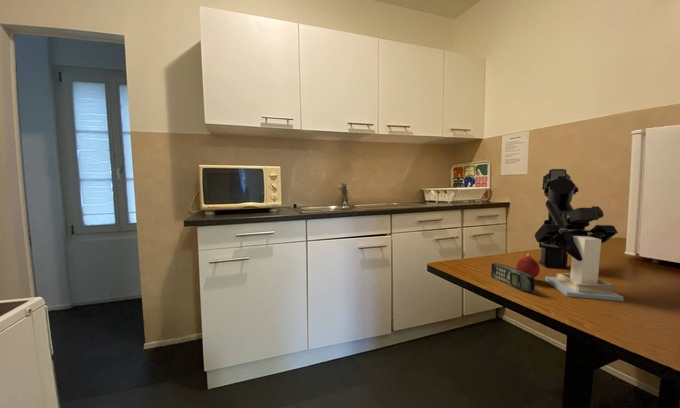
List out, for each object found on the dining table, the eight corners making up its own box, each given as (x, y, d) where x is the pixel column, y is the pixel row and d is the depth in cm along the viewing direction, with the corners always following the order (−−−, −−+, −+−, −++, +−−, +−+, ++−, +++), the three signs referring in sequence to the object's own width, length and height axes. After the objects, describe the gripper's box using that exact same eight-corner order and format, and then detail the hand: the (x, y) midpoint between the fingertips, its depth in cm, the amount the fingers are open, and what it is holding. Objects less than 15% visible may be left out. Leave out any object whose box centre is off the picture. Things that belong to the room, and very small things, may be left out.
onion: (542, 284, 79) (544, 257, 79) (520, 283, 81) (522, 256, 80) (533, 277, 85) (534, 252, 84) (512, 276, 86) (513, 251, 85)
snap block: (570, 279, 78) (573, 235, 77) (585, 280, 78) (589, 236, 76) (581, 285, 74) (585, 239, 73) (597, 285, 74) (601, 239, 72)
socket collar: (555, 279, 80) (556, 273, 80) (587, 280, 80) (587, 273, 79) (578, 291, 72) (578, 284, 72) (614, 293, 71) (614, 285, 71)
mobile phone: (489, 262, 86) (534, 277, 71) (497, 261, 86) (543, 276, 72) (489, 277, 86) (533, 296, 72) (497, 277, 87) (542, 295, 72)
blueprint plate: (566, 296, 72) (566, 292, 72) (545, 279, 83) (545, 276, 83) (623, 301, 69) (623, 297, 69) (593, 283, 80) (593, 280, 80)
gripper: (543, 196, 78) (569, 244, 68) (615, 196, 77) (652, 245, 67) (525, 219, 87) (546, 265, 77) (589, 219, 85) (619, 266, 75)
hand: (589, 260), depth 74 cm, fingers closed on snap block, 4 cm apart
